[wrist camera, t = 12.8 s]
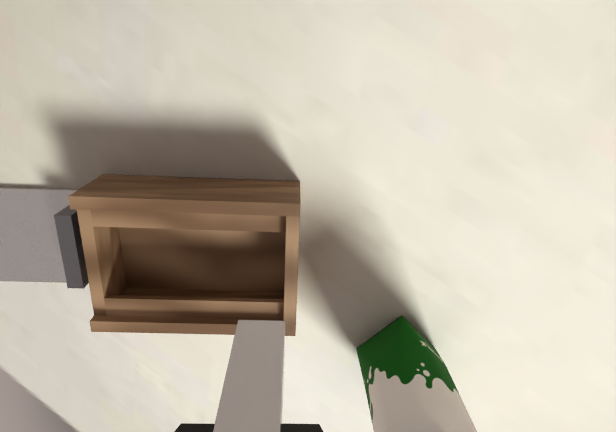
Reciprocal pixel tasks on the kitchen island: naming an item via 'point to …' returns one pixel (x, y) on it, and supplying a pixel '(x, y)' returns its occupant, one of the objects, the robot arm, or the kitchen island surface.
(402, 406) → the milk carton
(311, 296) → the kitchen island surface
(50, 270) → the cover plate
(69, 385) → the kitchen island surface
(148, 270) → the box
